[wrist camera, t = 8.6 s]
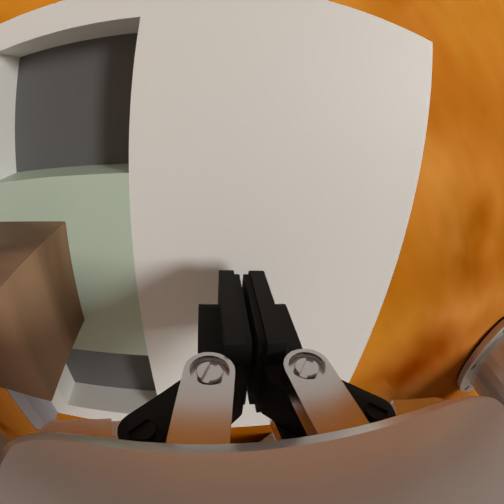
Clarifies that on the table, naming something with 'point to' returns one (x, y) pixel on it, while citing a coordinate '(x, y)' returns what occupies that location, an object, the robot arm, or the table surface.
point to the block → (36, 306)
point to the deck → (209, 173)
